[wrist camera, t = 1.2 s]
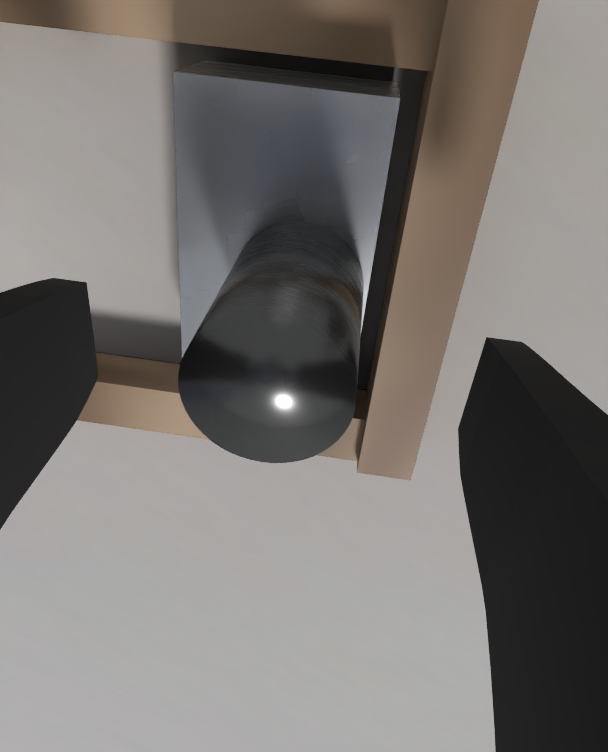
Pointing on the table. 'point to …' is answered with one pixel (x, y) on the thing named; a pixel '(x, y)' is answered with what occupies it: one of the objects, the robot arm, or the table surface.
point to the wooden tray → (421, 192)
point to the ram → (276, 249)
